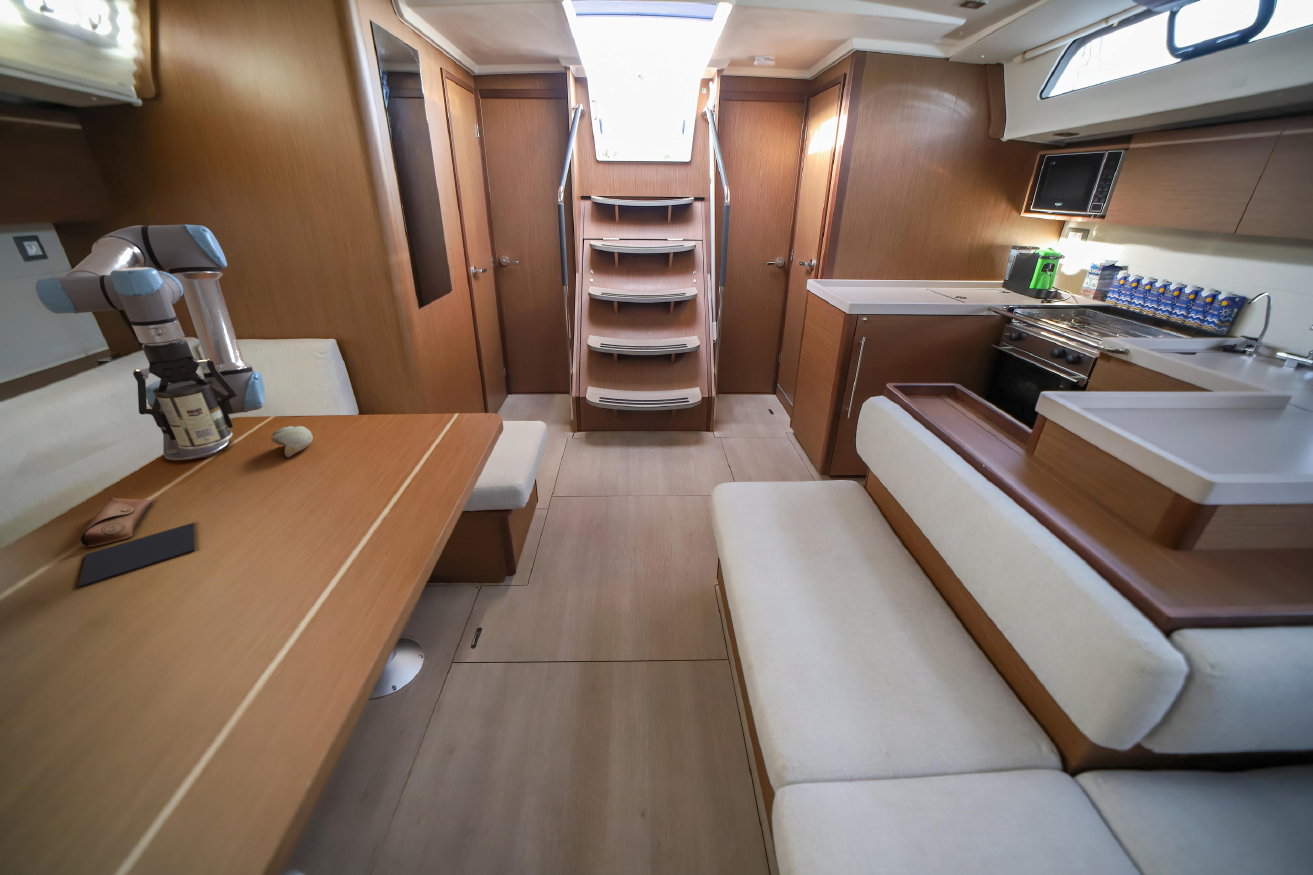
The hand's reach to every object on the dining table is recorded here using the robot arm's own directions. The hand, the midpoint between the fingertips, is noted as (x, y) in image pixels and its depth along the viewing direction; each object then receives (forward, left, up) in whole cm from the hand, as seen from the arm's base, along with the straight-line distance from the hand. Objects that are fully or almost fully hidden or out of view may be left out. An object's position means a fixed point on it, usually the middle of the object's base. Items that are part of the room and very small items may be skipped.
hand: (202, 431), depth 120 cm
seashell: (-24, +17, -20) cm, 36 cm away
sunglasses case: (-5, -21, -20) cm, 29 cm away
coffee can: (0, 0, -2) cm, 2 cm away
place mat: (+13, -17, -20) cm, 29 cm away
